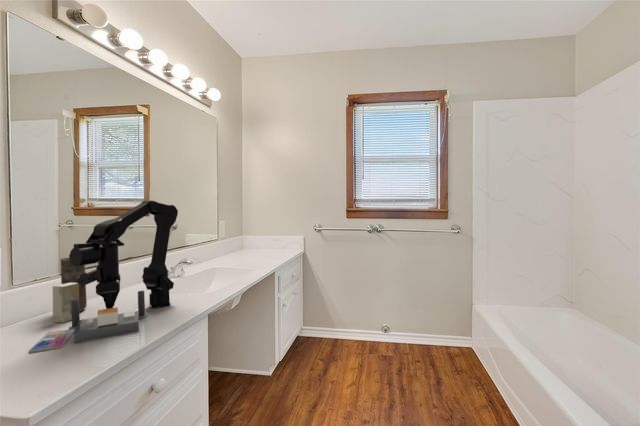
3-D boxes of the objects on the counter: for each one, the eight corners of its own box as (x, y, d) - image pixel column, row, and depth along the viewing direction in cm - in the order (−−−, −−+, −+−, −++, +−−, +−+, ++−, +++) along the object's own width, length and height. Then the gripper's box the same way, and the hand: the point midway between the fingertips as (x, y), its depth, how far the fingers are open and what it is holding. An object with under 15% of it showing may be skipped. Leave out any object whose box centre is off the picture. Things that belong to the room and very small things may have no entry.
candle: (65, 309, 122) (64, 257, 121) (89, 307, 125) (87, 255, 124) (58, 315, 115) (57, 260, 114) (83, 312, 118) (81, 258, 117)
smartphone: (77, 328, 101) (61, 346, 87) (77, 331, 101) (61, 350, 87) (47, 331, 98) (26, 351, 84) (47, 335, 98) (26, 355, 84)
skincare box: (62, 323, 107) (61, 286, 107) (52, 322, 108) (51, 286, 108) (80, 316, 113) (79, 282, 113) (70, 316, 114) (69, 281, 114)
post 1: (83, 325, 105) (82, 297, 105) (82, 328, 102) (81, 300, 102) (69, 327, 103) (68, 299, 103) (68, 331, 100) (66, 302, 100)
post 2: (147, 314, 114) (146, 289, 114) (147, 317, 111) (147, 291, 111) (135, 316, 112) (134, 291, 112) (135, 319, 109) (135, 293, 109)
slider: (118, 319, 99) (117, 307, 99) (117, 322, 97) (117, 309, 97) (98, 323, 97) (98, 310, 97) (97, 326, 94) (97, 312, 94)
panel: (138, 319, 109) (137, 308, 109) (139, 331, 99) (138, 318, 99) (79, 329, 101) (79, 317, 101) (74, 343, 90) (73, 330, 90)
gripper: (81, 259, 110) (83, 305, 110) (74, 268, 94) (76, 321, 94) (119, 256, 116) (121, 299, 116) (118, 264, 100) (120, 313, 100)
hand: (110, 307), depth 106 cm, fingers open, 9 cm apart
